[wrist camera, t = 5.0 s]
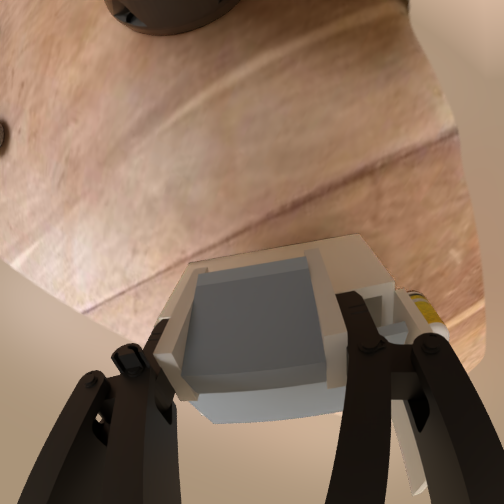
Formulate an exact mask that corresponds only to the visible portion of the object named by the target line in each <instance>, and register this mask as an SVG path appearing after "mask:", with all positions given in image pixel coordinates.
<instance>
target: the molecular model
mask: <svg viewBox="0 0 504 504" xmlns="http://www.w3.org/2000/svg"><path fill="white" fill-rule="evenodd" d="M3 138H4V130H3V126H2V125H1V123H0V147H1V145H2V142H3Z"/></svg>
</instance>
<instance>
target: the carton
mask: <svg viewBox="0 0 504 504" xmlns="http://www.w3.org/2000/svg"><path fill="white" fill-rule="evenodd" d="M314 248H319V250H320V253H321V256H322V259H323V261H324V264H325V267H326V270H327V273H328V275H329V278H330V281H331V284H332V287H333V290H334V293H335V294H339V293H344V292H350V291H356V292H357V293H358V294H360V295H361V296H362V297H363V299H364V301H365V304H366V306H367V308H368V311H369V312H370V314H371V317H372V319H373V321H374V323H375V325H376V328H378V327H382V326H386V325H390V324H395V323H399V322H403V321H405V323H406V325H407V328H408V334H407V337H406V340H405V343H404V344H413V341H414V339H415V338H416V337H417V336H419V335H421V334H423V333H430V332H432V333H434V332H433V330H432V329H431V327H430V326H429V324H428V322H427V321H426V319H425V318H424V316H423V315H422V313H421V312H420V311H419V309H418V308H417V306H416V305H415V303H414V302H413V300H412V299H411V298H410V296H409V295H408V293H407V292H406V290H405V289H404V288H403V289H398V290H394V289H395V281H394V279H393V278H392V276H391V275H390V274H389V272H388V271H387V270H386V268H385V267H384V265H383V264H382V263H381V261H380V260H379V259H378V257H377V256H376V255H375V253H374V252H373V251H372V249H371V248H370V247H369V246H368V244H367V243H366V242H365V240H364V239H363V238H362V237H361V235H360V234H359V233H358V234H352V235H346V236H341V237H335V238H329V239H323V240H318V241H312V242H306V243H300V244H295V245H289V246H283V247H277V248H272V249H266V250H260V251H254V252H249V253H243V254H237V255H231V256H225V257H220V258H214V259H208V260H202V261H197V262H191V263H189V264H188V266H187V268H186V269H185V271H184V273H183V275H182V276H181V278H180V280H179V282H178V283H177V285H176V287H175V289H174V290H173V292H172V294H171V296H170V297H169V299H168V301H167V303H166V305H165V307H164V308H163V310H162V312H161V314H160V316H159V318H158V319H157V321H156V323H155V325H154V327H155V326H156V325H157V324H158V323H159V322H160V321H161V320H162V319H168V318H170V316H171V314H172V312H173V310H174V308H175V306H176V304H177V302H178V300H179V298H180V296H181V294H182V292H183V290H184V288H185V286H186V284H187V282H188V280H189V278H190V276H191V274H192V272H193V270H194V269H196V268H202V267H208V271H209V272H214V271H220V270H226V269H233V268H239V267H245V266H251V265H257V264H263V263H269V262H274V261H280V260H286V259H292V258H298V257H304V256H305V255H304V250H309V249H314ZM198 411H199V410H198ZM199 412H200V411H199ZM200 414H201V415H202V416H204V415H203V414H202V413H201V412H200ZM391 418H392V421H393V425H394V427H395V431H396V435H397V438H398V441H399V445H400V449H401V452H402V456H403V460H404V464H405V468H406V472H407V476H408V480H409V484H410V489H411V493H412V496H414V495H417V494H420V493H422V492H423V491H424V489H425V488H426V487H427V482H426V477H425V473H424V469H423V466H422V462H421V458H420V454H419V451H418V447H417V444H416V440H415V437H414V434H413V430H412V427H411V424H410V421H409V418H408V414H407V411H406V408H405V405H404V402H403V400H391Z"/></svg>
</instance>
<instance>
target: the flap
mask: <svg viewBox="0 0 504 504" xmlns="http://www.w3.org/2000/svg"><path fill="white" fill-rule="evenodd" d="M377 330H378V332H379V334H380V335H382V336H384V337H385V338H386V339H387V340H388V342H390V343H394V344H404V343H405V340H406V337H407V334H408V328H407V325H406V323H405V321H403V322H399V323H395V324H390V325H386V326H382V327H378V328H377ZM181 377H182V378H183V379H184V380H185V381H186V382H187V383H188V385H189V386H190V387H191V388H192V389H193V390H194V391H195V392H196V393H197V394H199V397H198V401H189V402H190V403H191V404H192V405H193V406H194V407H195V408H196V409H197V410H199V411H200V412H201V413H202V414H203V415H204V416H205V417H207V418H208V419H209V420H210V421H211V422H212V423H213V424H226V423H250V422H265V421H276V420H286V419H295V418H303V417H310V416H317V415H323V414H329V413H335V412H341V411H343V407H344V399H345V391H346V386H342V387H337V388H332V389H327V383H326V381H327V379H326V357H325V352H324V346H323V340H322V335H321V329H320V323H319V318H318V313H317V307H316V302H315V297H314V292H313V287H312V282H311V277H310V272H309V268H308V263H307V258H306V256H304V257H298V258H292V259H286V260H280V261H274V262H269V263H263V264H257V265H251V266H245V267H239V268H233V269H226V270H220V271H214V272H208V273H202V274H198V279H197V284H196V289H195V295H194V300H193V306H192V311H191V317H190V322H189V328H188V334H187V340H186V346H185V352H184V358H183V364H182V371H181Z"/></svg>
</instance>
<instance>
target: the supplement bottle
mask: <svg viewBox="0 0 504 504" xmlns="http://www.w3.org/2000/svg"><path fill="white" fill-rule="evenodd" d="M408 295H409V296H410V298H411V299H412V300H413V302H414V303H415V305H416V306H417V308H418V309H419V311H420V312H421V313H422V315H423V316H424V318H425V319H426V321H427V322H428V324H429V326H430V327H431V329H432V330H433V332H434V333H438V334H440V335H442V336H444V337H445V338H446V340H447V341H448V342H449V331H448V329H447V327H446V326H445V324H444V323H443V321H442V320H441V318H440V317H439V315H438V314H437V313H436V311H435V310H434V308H433V307H432V306H431V304H430V303H429V302H428V300H427V299H426V297H425V296H424V295H423V294H421V293H419V292H415V291H413V292H408Z"/></svg>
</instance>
